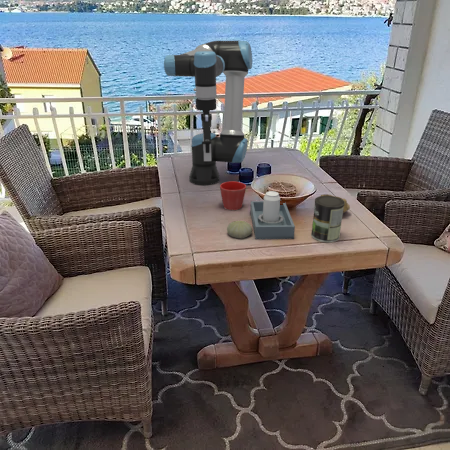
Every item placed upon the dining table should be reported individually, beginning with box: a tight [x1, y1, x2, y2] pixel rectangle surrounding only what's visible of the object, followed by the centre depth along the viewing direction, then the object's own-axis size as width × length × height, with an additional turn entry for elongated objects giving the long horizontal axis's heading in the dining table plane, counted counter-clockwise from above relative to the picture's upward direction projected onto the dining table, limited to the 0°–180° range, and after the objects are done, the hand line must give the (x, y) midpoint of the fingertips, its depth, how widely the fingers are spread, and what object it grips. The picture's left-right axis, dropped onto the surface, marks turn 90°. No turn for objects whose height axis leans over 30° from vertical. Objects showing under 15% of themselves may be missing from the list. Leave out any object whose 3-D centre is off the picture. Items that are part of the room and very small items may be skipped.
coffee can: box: [310, 195, 345, 244], centre depth 146 cm, size 10×10×14 cm
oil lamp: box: [320, 193, 351, 214], centre depth 167 cm, size 11×15×8 cm
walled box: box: [249, 200, 296, 240], centre depth 157 cm, size 24×14×5 cm, turn 1°
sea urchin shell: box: [226, 220, 254, 239], centre depth 150 cm, size 9×8×8 cm
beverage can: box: [263, 190, 281, 222], centre depth 155 cm, size 6×6×12 cm
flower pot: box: [219, 180, 247, 211], centre depth 172 cm, size 11×11×10 cm
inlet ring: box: [258, 214, 284, 226], centre depth 157 cm, size 10×10×2 cm
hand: (207, 155), depth 155 cm, fingers open, 13 cm apart
